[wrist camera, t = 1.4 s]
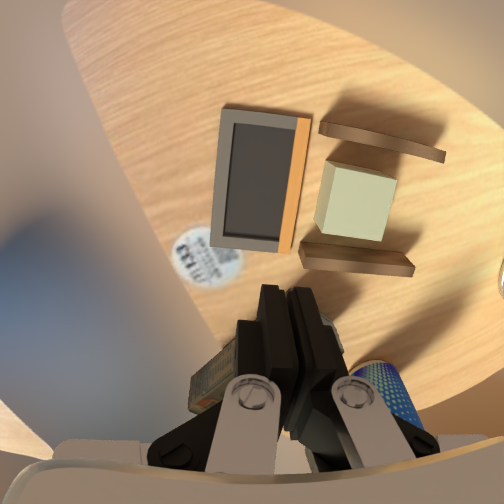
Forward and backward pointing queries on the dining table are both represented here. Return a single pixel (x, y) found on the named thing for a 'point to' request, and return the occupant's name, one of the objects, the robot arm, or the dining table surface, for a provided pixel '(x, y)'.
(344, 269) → the brown parallel walls
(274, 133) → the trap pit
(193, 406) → the beverage carton
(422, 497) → the robot arm
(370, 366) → the beer can
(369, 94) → the dining table surface
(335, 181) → the block
